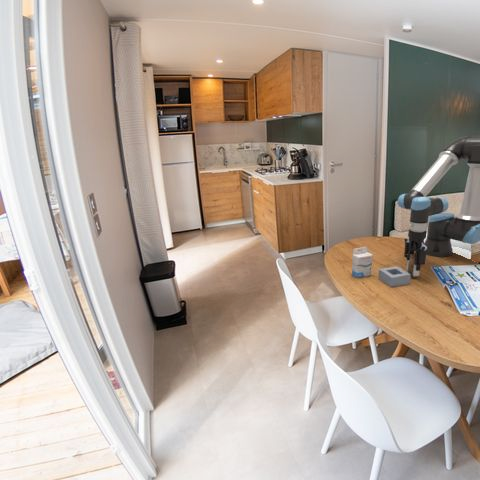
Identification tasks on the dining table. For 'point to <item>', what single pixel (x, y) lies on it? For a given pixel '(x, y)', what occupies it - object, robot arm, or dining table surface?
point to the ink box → (361, 262)
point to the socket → (394, 276)
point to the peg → (412, 265)
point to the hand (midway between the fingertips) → (412, 273)
